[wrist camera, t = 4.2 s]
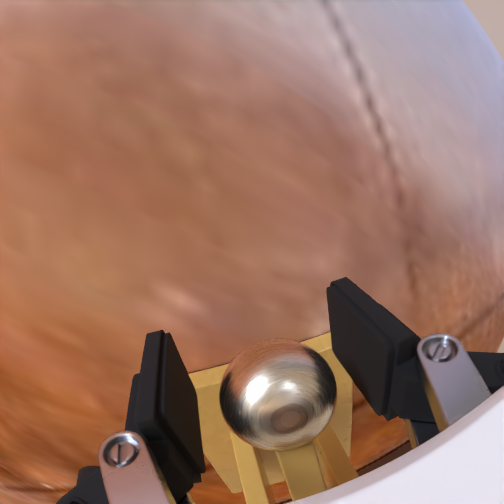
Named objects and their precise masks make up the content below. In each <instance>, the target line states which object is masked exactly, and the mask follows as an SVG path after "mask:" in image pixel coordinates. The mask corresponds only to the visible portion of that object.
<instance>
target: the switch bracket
mask: <svg viewBox="0 0 504 504" xmlns="http://www.w3.org/2000/svg"><path fill="white" fill-rule="evenodd" d="M300 343H303V344H305V345H307V346H309V347H311V348H313V349H314V350H315V351H317V352H318V353H319V354H320V355H321V356H322V357H323V358H324V359H325V360H326V361H327V363H328V364H329V366H330V368H331V370H332V372H333V374H334V376H335V380H336V384H337V404H336V408H335V411H334V414H333V416H332V418H331V420H330V422H329V424H328V425H327V426H326V428H325V429H324V430H323V431H322V432H321V433H320V434H319V435H318V436H317V437H316V438H314V439H313V440H314V444H315V447H316V451H317V455H318V459H319V462H320V466H321V470H322V474H323V478H324V481H325V485H326V488H327V490H328V489H331V488H334V487H336V486H339V485H341V484H344V483H346V482H348V481H351V480H353V479H355V478H358V477H359V476H358V474H357V472H356V470H355V468H354V467H353V465H352V463H351V461H350V459H349V457H350V448H351V429H352V390H353V380H352V379H351V377H350V376H349V374H348V373H347V372H346V370H345V369H344V368H343V366H342V365H341V363H340V362H339V361H338V359H337V358H336V356H335V355H334V353H333V350H332V344H331V332H328V333H326V334H323V335H320V336H317V337H314V338H311V339H308V340H305V341H302V342H300ZM229 364H230V363H229ZM229 364H226V365H222V366H218V367H214V368H210V369H206V370H202V371H198V372H194V373H189V377H190V379H191V381H192V383H193V385H194V387H195V390H196V393H197V399H198V409H199V419H200V429H201V438H202V446H203V453H204V454H205V456H206V457H207V459H208V460H209V462H210V463H211V464H212V466H213V467H214V469H215V470H216V472H217V473H218V474H219V476H220V477H221V479H222V480H223V481H224V483H225V484H226V485H227V487H228V488H229V489H230V491H231V492H232V493H239V492H244V496H245V500H246V504H276V503H275V500H274V497H273V494H272V491H271V487H270V485H272V484H275V483H279V482H282V481H285V478H284V475H283V472H282V470H281V467H280V464H279V461H278V458H277V455H276V452H275V451H269V450H263V449H260V448H257V447H254V446H252V445H249V444H247V443H246V442H244V441H243V440H241V439H240V438H239V437H238V436H237V435H235V434H234V433H233V431H232V430H231V429H230V428H229V426H228V425H227V423H226V422H225V420H224V418H223V415H222V412H221V409H220V403H219V388H220V383H221V380H222V377H223V374H224V372H225V370H226V368H227V367H228V365H229Z"/></svg>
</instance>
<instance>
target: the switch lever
mask: <svg viewBox="0 0 504 504" xmlns="http://www.w3.org/2000/svg"><path fill="white" fill-rule="evenodd" d="M219 403H220V409H221V412H222V415H223V418H224V420H225V422H226V423H227V425H228V426H229V428H230V429H231V430H232V431H233V433H234V434H235V435H237V436H238V437H239V438H240V439H241V440H243V441H244V442H246V443H247V444H249V445H252V446H254V447H257V448H260V449H263V450H269V451H275V452H276V455H277V458H278V461H279V464H280V467H281V470H282V472H283V475H284V478H285V481H286V484H287V487H288V489H289V492H290V495H291V498H292V500H293V501H296V500H299V499H303V498H306V497H309V496H312V495H315V494H317V493H320V492H323V491H326V490H327V489H326V485H325V481H324V478H323V474H322V470H321V466H320V462H319V459H318V455H317V451H316V447H315V444H314V440H313V439H314V438H316V437H317V436H318V435H319V434H320V433H321V432H322V431H323V430H324V429H325V428H326V426H327V425H328V424H329V422H330V420H331V418H332V416H333V414H334V411H335V408H336V404H337V384H336V380H335V376H334V374H333V372H332V370H331V368H330V366H329V364H328V363H327V361H326V360H325V359H324V358H323V357H322V356H321V355H320V354H319V353H318V352H317V351H315V350H314V349H313V348H311V347H309V346H307V345H305V344H303V343H300V342H297V341H294V340H289V339H271V340H265V341H261V342H258V343H256V344H253V345H251V346H249V347H247V348H246V349H244V350H243V351H242V352H240V353H239V354H238V355H237V356H236V357H235V358H234V359H233V360H232V361H231V362H230V364H229V365H228V367H227V368H226V370H225V372H224V374H223V377H222V380H221V383H220V388H219Z"/></svg>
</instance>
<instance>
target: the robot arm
mask: <svg viewBox="0 0 504 504" xmlns="http://www.w3.org/2000/svg"><path fill="white" fill-rule="evenodd" d="M326 291H327V301H328V311H329V321H330V332H331V344H332V350H333V353H334V355H335V356H336V358H337V359H338V361H339V362H340V363H341V365H342V366H343V368H344V369H345V370H346V372H347V373H348V374H349V376H350V377H351V379H352V380H353V381H354V383H355V384H356V386H357V387H358V388H359V390H360V391H361V393H362V394H363V395H364V397H365V398H366V400H367V401H368V402H369V404H370V405H371V407H372V408H373V409H374V411H375V412H376V414H377V415H379V416H380V415H382V414H383V416H384V417H385V418H386V420H387V421H389V420H391V419H393V418H395V417H397V416H399V418H402V419H404V420H405V424H406V428H407V431H408V435H409V439H410V443H411V446H412V450H411V451H409V452H408V453H406V454H404V455H402V456H400V457H399V458H397V459H395V460H393V461H391V462H389V463H387V464H385V465H383V466H381V467H379V468H377V469H375V470H373V471H371V472H369V473H367V474H364V475H362V476H360V477H358V478H355V479H353V480H351V481H348V482H346V483H344V484H341V485H339V486H336V487H334V488H331V489H328V490H326V491H323V492H320V493H317V494H315V495H312V496H309V497H306V498H303V499H299V500H296V501H293V502H290V503H286V504H504V353H488V352H467V351H466V350H465V349H464V347H463V346H462V344H461V343H460V342H459V340H458V339H457V338H455V337H453V336H452V335H448V334H444V333H436V334H431V335H428V336H426V337H424V338H423V339H421V338H420V337H418V336H417V335H416V334H415V333H414V332H413V331H411V330H410V329H409V328H408V327H407V326H406V325H404V324H403V323H402V322H401V321H400V320H399V319H397V318H396V317H395V316H394V315H393V314H392V313H390V312H389V311H388V310H387V309H386V308H384V307H383V306H382V305H380V304H378V303H377V302H376V301H375V300H374V299H372V298H371V297H370V296H369V295H368V294H366V293H365V292H364V291H363V290H362V289H360V288H359V287H358V286H357V285H356V284H354V283H353V282H352V281H351V280H349V279H348V278H347V277H345V278H342V279H339V280H336V281H332V282H331V284H330V287H327V290H326ZM98 460H99V465H100V467H99V468H97V469H96V470H95V471H94V472H93V473H91V474H90V475H89V476H88V477H87V478H85V479H84V480H83V481H82V482H80V483H79V484H78V485H77V486H76V487H74V488H73V489H72V490H71V491H69V492H68V493H67V494H65V495H64V496H63V497H62V498H61V499H60V500H59V501H58V502H57V503H56V504H195V502H194V500H193V499H192V497H191V495H190V493H189V491H190V490H191V488H192V487H193V483H199V482H202V481H201V473H205V462H204V454H203V446H202V438H201V429H200V419H199V409H198V399H197V393H196V390H195V387H194V385H193V383H192V381H191V379H190V377H189V374H188V372H187V370H186V368H185V366H184V363H183V361H182V359H181V357H180V354H179V352H178V350H177V348H176V345H175V343H174V341H173V338H172V336H171V334H170V333H166V334H165V332H164V331H163V330H160V331H156V332H152V333H148V334H147V335H146V340H145V346H144V352H143V358H142V364H141V370H140V373H139V374H135V375H134V377H133V380H132V386H131V392H130V399H129V405H128V412H127V419H126V427H125V431H120V432H116V433H114V434H112V435H110V436H109V437H108V438H106V439H105V440H104V441H103V443H102V444H101V446H100V448H99V451H98Z"/></svg>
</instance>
